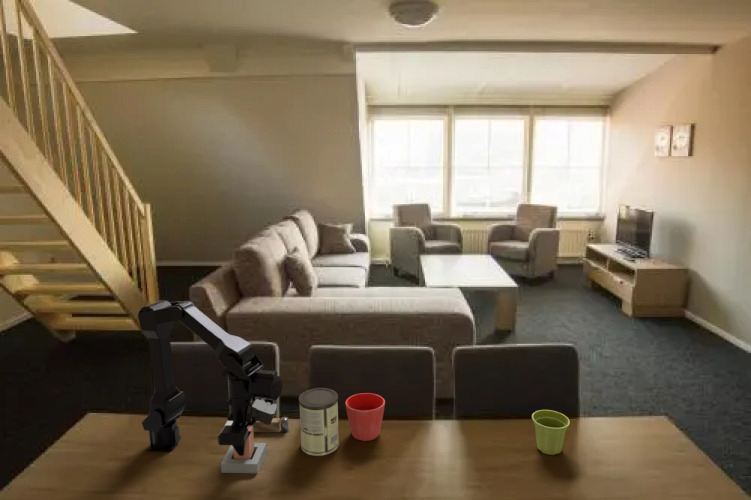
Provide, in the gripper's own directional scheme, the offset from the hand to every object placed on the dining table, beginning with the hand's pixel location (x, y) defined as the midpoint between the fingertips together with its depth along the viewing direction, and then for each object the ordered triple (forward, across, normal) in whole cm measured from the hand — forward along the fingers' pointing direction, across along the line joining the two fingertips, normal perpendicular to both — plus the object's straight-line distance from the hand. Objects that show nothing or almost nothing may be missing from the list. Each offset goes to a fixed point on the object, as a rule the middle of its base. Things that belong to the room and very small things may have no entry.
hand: (244, 450), depth 124 cm
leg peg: (+1, 0, 0) cm, 1 cm away
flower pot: (+3, +14, -30) cm, 33 cm away
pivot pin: (+3, +15, -7) cm, 17 cm away
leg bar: (+3, +15, 0) cm, 15 cm away
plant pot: (+3, +8, -79) cm, 80 cm away
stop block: (+3, +15, +8) cm, 17 cm away
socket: (+3, 0, 0) cm, 3 cm away
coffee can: (+3, +8, -18) cm, 20 cm away
